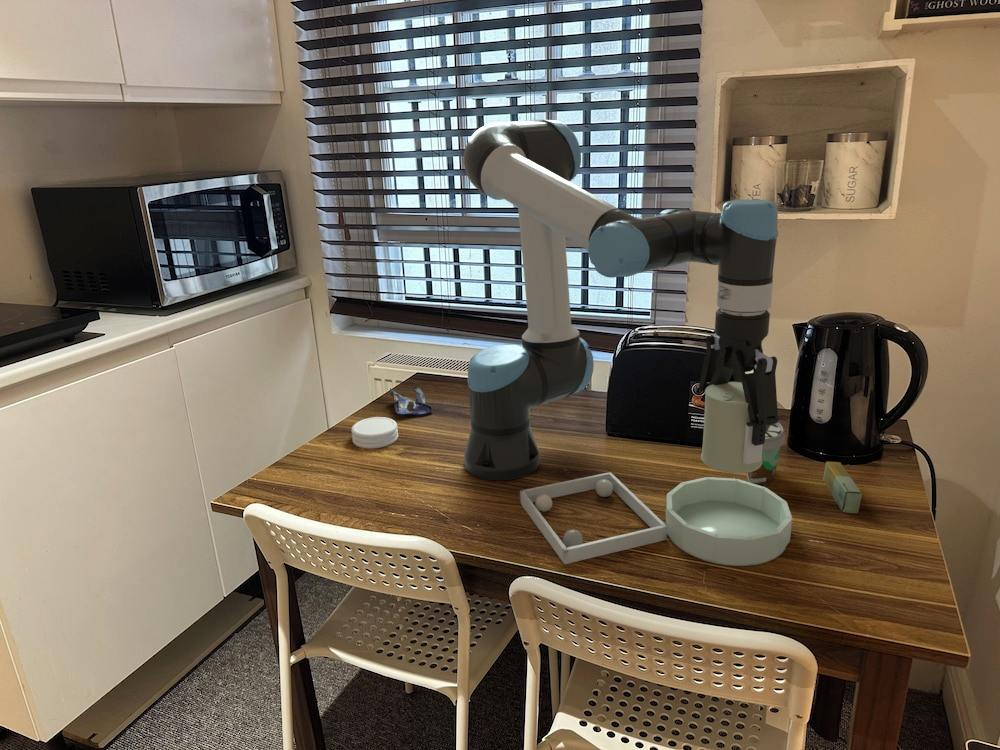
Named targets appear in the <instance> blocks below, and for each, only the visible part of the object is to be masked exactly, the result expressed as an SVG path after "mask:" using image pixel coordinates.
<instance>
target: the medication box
mask: <svg viewBox="0 0 1000 750" xmlns="http://www.w3.org/2000/svg"><path fill="white" fill-rule="evenodd" d="M822 480H823V483H825V485H827V486H826V488H827V489H828V488H829V489H828V491H829V490H830V491H829V493H830V495H832V498H833V499H834V501H835V503H836V505H837V506H838V507H839V509H840V510H841V512H842V513H845V514H858V513H859V510H860V505H861V500H862V496H863V493H862V491H861V490H860V488H859V487H858V486H857V484H856V483H855V482H854V479H852V478H851V476H850V474H849V473H848V471H847V470H846V468H845V467H844V465H843V464H842V462H839V461H825V467H824V471H823V477H822Z"/></svg>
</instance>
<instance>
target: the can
mask: <svg viewBox="0 0 1000 750" xmlns="http://www.w3.org/2000/svg"><path fill="white" fill-rule="evenodd" d="M704 396H705V397H704V398H705V399H704V400H705V401H704V420H703V421H704V422H703V436H702V448H701V451H702V452H701V454H700V459H701V462H702V463H703V464H704V465H706V466H707V467H709V468H710V469H712V470H715V471H718V472H722V473H728V474H738V475H739V474H746V473H749V472H753V471H755V470H757V469H759V468H760V467H761V465H762V457H761V461H760V462H755V463H751V464H744V463H743V454H744V441H745V429H746V423H748V422H750V418H749V413H748V403H746V400H745V395H744V391H743V386H742V382H741V381H740V382H739V381H729V382H728V383H726V384H720V385H714V384H712V385H710V386H708V387H707V388H706V390H705V393H704ZM757 417H758V415H757ZM762 447H763V446H762Z"/></svg>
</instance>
